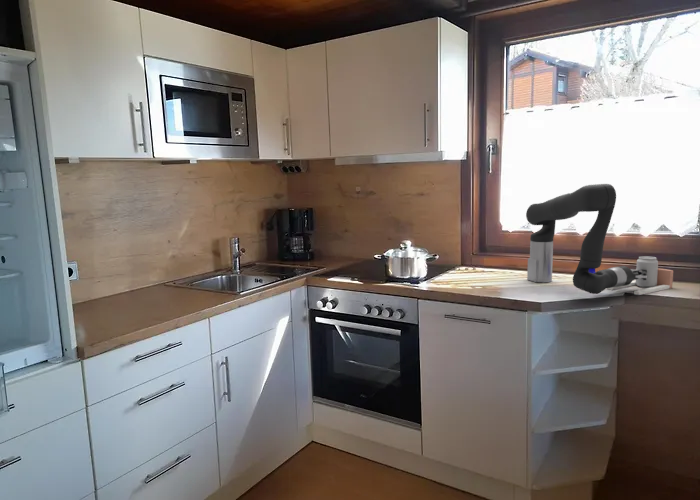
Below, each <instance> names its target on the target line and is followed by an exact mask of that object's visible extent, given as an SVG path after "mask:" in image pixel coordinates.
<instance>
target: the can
mask: <svg viewBox="0 0 700 500" xmlns="http://www.w3.org/2000/svg"><path fill="white" fill-rule="evenodd" d="M658 268H659V261H658V258H657V257H655V256H646V255H645V256H643V255H642V256H638V259H637V260H636V268H635V269H637V270H640V269H645V270H647V280H643V279H641V278H639V279H635V281H636V285H635V286H637V287H638V288H642V289H646V288H651V287H655V286H657V275H658Z"/></svg>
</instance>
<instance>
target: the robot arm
mask: <svg viewBox="0 0 700 500" xmlns="http://www.w3.org/2000/svg"><path fill="white" fill-rule="evenodd" d="M616 201H617V191H616V189H615V187H614V186H613V185H612V184H610V183H598V184H596V183H595V184H588V185H587V184H586V185H584V186H582V187H580V188H578V189H576V190H574V191H572V192H570V193H569V192H568V193H565V194H562V195H561V194H560V195H559V196H556V197H554V198H550V199H548V200H546V201H544V202H539V203H532V204H530V205H529V207H527V210H526V213H525V214H526V215H525V217H526V220H527V222H528V223H529V224H530V225H532V226H542V227H541V228H540V229H539V230H538V231H536V232H533V233H531V234H530V239H529V243H530V245H529V246H530V247H529V257H528V258H527V270H526V271H527V272H526V273H527V276H526V279H527V281H530V282H533V283H551V282H553V264H554V263H553V261H554V259H553V257H554V255H553V254H554V238H555V235H556V234H555V233H556V221H561V220H568V219H571V218H574V217H575V216H577V215H578V214H579V213H584V212H587V213H590V212H591V213H592V212H598V213H597V216H596V219H595V221H594V224H593V225H592V227H591V228H590V230H589V231H588V232H587V234H586V235H585V237H584V239H583V241H582V243H581V249H580V256H579V257H580V258H579V261H578V265H577V266H576V269H575V271H574V274H573V276H572V283H573V285H574V287H575V288H576V289H579V290H581V291H584V292H587V293H588V294H592V295H594V294H595V295H597V294H600V293H602V292H603V291H605V290H606V289H607V288H611V287H620V286H625V285H629V284H630V283H631V282H632V281H636V279H639V278H641V279H643V280H647V270H645V269H640V270H637V269H636V268H635V269H634V268H629V266H626V265H620V266H614V267H608V268H606V269H599V268H600V266H601V265H602V259H603V253H604V245H605V239H606V236H607V233H608V229H609V226H610V223H611V219H612V216H613V213H614V210H615V207H616ZM589 268H590V269H595V270H596V269H599V270H597V271H595V273H594V274H593V273H590V272H589Z"/></svg>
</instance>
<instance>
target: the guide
mask: <svg viewBox="0 0 700 500" xmlns="http://www.w3.org/2000/svg"><path fill="white" fill-rule="evenodd" d="M673 283H674V270H672V269H666V268H661V267H660V268H659V267H658V275H657V286H655V287H651V288H642V289H637V290H634V291H633V292H634V293H633V295H637V296H640V295H646V294H650V293H655V292H658V291H663V290H669V289H673ZM632 286H637V285H636V280H633V281H632V282H631V283H630V284H629V285H625V286H620V287H611V288H606V289H607V290H611V291H613V290H618V289H622V288H628V287H632Z"/></svg>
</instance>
